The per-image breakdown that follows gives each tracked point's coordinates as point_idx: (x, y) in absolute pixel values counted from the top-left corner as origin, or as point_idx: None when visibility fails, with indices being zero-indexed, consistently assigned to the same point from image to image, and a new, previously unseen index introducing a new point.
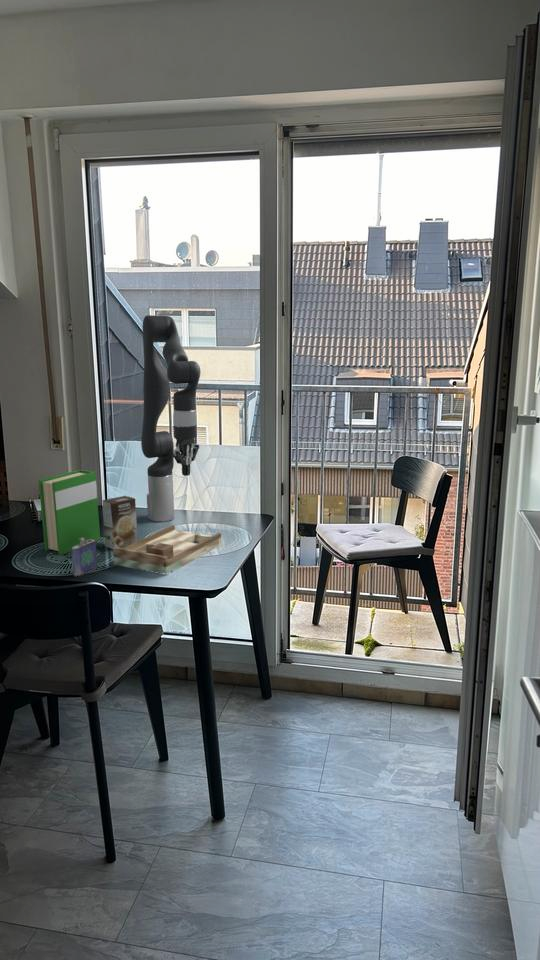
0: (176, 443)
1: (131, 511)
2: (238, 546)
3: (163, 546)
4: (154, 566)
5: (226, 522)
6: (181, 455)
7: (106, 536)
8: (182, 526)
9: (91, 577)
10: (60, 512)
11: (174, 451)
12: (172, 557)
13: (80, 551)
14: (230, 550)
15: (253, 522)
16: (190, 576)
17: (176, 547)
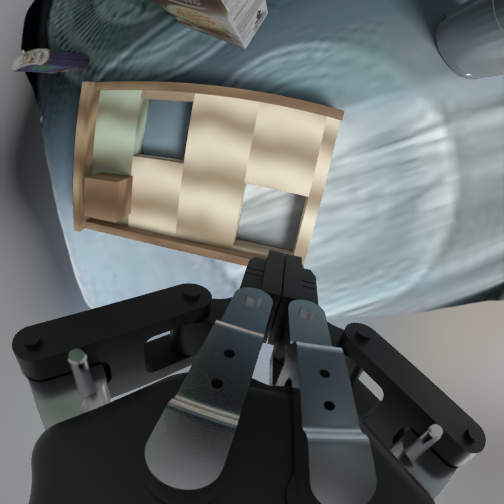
0: (32, 469)
1: (207, 10)
2: None
3: (101, 204)
4: None
5: (463, 224)
6: (118, 394)
7: None
8: (422, 115)
9: (51, 94)
10: None
11: (24, 377)
12: (104, 226)
13: (23, 70)
14: None
15: (461, 285)
16: (108, 261)
17: (191, 189)
